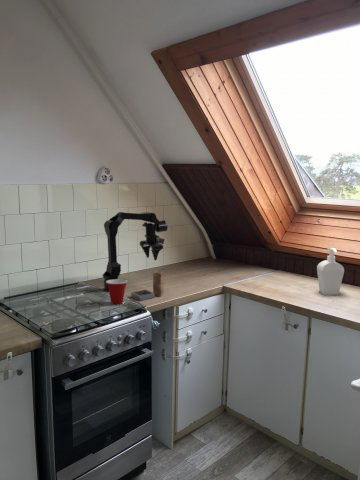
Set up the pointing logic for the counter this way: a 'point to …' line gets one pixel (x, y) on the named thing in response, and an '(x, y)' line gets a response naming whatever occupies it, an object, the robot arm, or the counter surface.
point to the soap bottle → (330, 275)
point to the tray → (142, 295)
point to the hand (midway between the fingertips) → (151, 258)
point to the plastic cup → (116, 290)
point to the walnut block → (158, 283)
